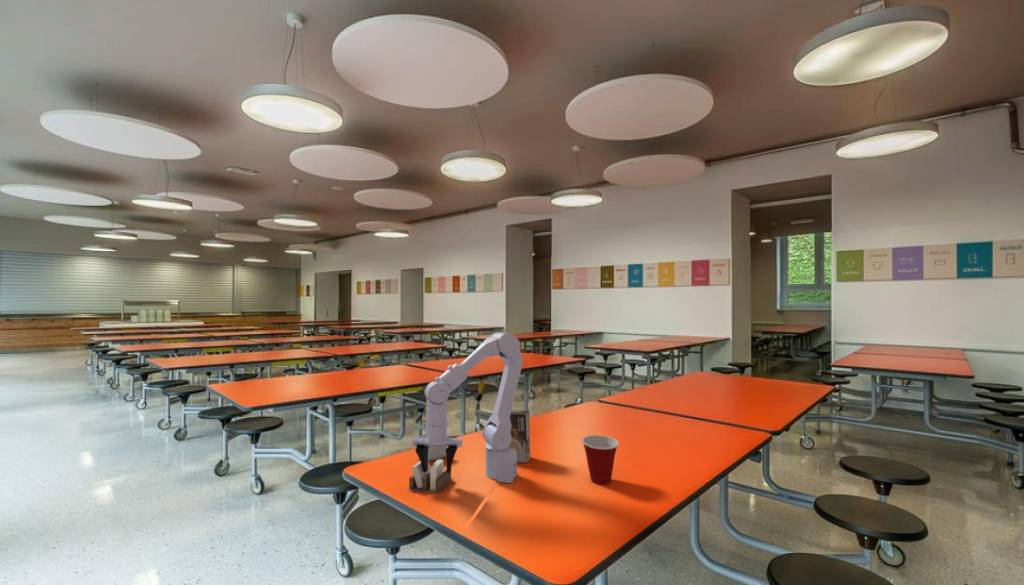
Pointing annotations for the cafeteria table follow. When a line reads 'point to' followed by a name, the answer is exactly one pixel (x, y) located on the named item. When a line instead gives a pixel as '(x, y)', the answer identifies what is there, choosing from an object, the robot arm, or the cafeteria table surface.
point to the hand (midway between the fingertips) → (437, 471)
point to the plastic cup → (600, 457)
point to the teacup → (434, 451)
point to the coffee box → (520, 434)
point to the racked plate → (419, 473)
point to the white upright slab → (436, 473)
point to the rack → (440, 483)
